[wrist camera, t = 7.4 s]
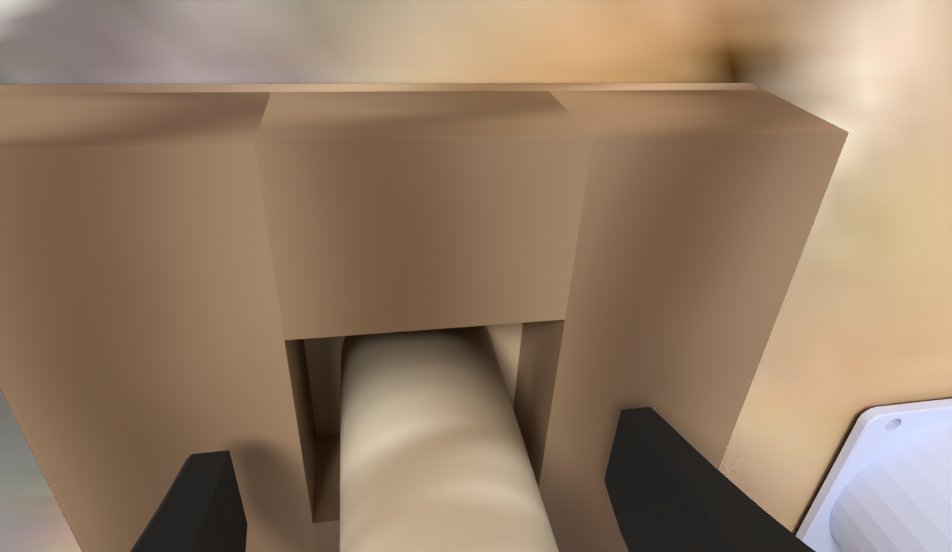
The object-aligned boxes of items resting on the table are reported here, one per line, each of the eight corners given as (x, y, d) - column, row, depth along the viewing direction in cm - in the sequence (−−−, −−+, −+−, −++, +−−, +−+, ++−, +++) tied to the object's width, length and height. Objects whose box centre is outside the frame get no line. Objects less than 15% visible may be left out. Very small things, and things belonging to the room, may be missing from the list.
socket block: (749, 83, 13) (848, 132, 10) (639, 470, 19) (683, 558, 17) (-8, 84, 10) (-119, 150, 8) (159, 529, 17) (127, 642, 14)
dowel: (492, 285, 14) (632, 664, 7) (488, 400, 16) (594, 783, 9) (332, 299, 13) (320, 725, 6) (348, 416, 15) (352, 838, 8)
